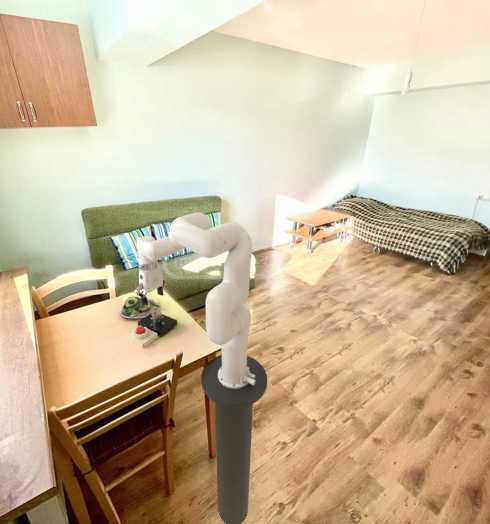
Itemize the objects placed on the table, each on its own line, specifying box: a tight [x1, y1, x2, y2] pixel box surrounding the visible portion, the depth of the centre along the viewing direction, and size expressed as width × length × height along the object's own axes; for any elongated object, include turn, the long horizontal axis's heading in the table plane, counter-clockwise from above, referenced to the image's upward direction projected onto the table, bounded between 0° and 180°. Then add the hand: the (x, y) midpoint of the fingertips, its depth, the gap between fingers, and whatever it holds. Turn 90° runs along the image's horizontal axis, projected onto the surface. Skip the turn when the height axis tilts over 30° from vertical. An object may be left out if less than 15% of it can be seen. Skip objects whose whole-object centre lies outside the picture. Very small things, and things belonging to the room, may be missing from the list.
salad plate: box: [119, 296, 161, 320], centre depth 143 cm, size 19×18×5 cm
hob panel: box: [137, 313, 178, 338], centre depth 132 cm, size 15×11×3 cm
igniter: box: [124, 326, 159, 349], centre depth 122 cm, size 11×9×4 cm
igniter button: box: [135, 326, 145, 334], centre depth 121 cm, size 4×4×2 cm
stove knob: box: [151, 308, 162, 324], centre depth 130 cm, size 4×4×5 cm
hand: (152, 299), depth 126 cm, fingers open, 9 cm apart
